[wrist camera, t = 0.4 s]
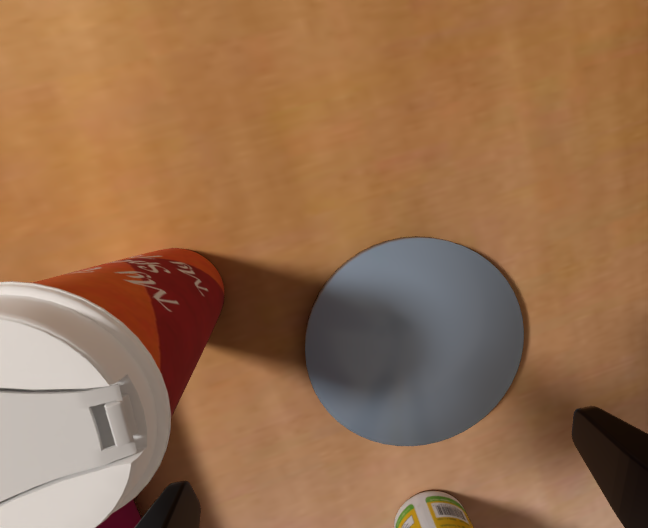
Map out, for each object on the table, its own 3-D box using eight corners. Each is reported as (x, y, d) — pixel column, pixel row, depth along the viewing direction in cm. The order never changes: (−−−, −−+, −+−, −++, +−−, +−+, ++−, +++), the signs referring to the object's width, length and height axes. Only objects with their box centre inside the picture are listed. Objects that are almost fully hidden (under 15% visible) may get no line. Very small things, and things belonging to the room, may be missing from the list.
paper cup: (229, 221, 22) (109, 273, 8) (252, 340, 24) (181, 547, 10) (98, 240, 22) (-245, 324, 8) (130, 358, 23) (-115, 596, 10)
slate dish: (424, 470, 26) (428, 481, 25) (262, 365, 24) (260, 372, 23) (557, 319, 24) (568, 324, 24) (396, 190, 22) (400, 190, 21)
